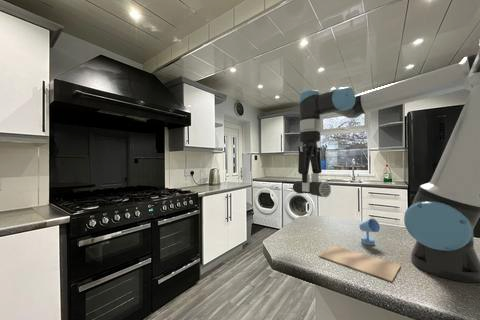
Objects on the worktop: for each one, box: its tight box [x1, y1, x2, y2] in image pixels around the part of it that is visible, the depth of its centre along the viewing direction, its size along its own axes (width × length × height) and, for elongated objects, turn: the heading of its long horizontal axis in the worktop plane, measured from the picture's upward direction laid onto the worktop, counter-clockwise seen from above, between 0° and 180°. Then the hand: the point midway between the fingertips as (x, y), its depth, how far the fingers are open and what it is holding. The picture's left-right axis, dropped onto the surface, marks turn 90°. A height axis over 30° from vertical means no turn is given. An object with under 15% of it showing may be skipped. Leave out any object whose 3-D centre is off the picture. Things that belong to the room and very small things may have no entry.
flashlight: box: [292, 180, 332, 198], centre depth 79 cm, size 15×5×5 cm, turn 26°
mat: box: [318, 245, 402, 283], centre depth 65 cm, size 20×12×1 cm, turn 42°
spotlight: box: [359, 218, 381, 246], centre depth 79 cm, size 5×10×7 cm
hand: (310, 190), depth 79 cm, fingers closed on flashlight, 6 cm apart
